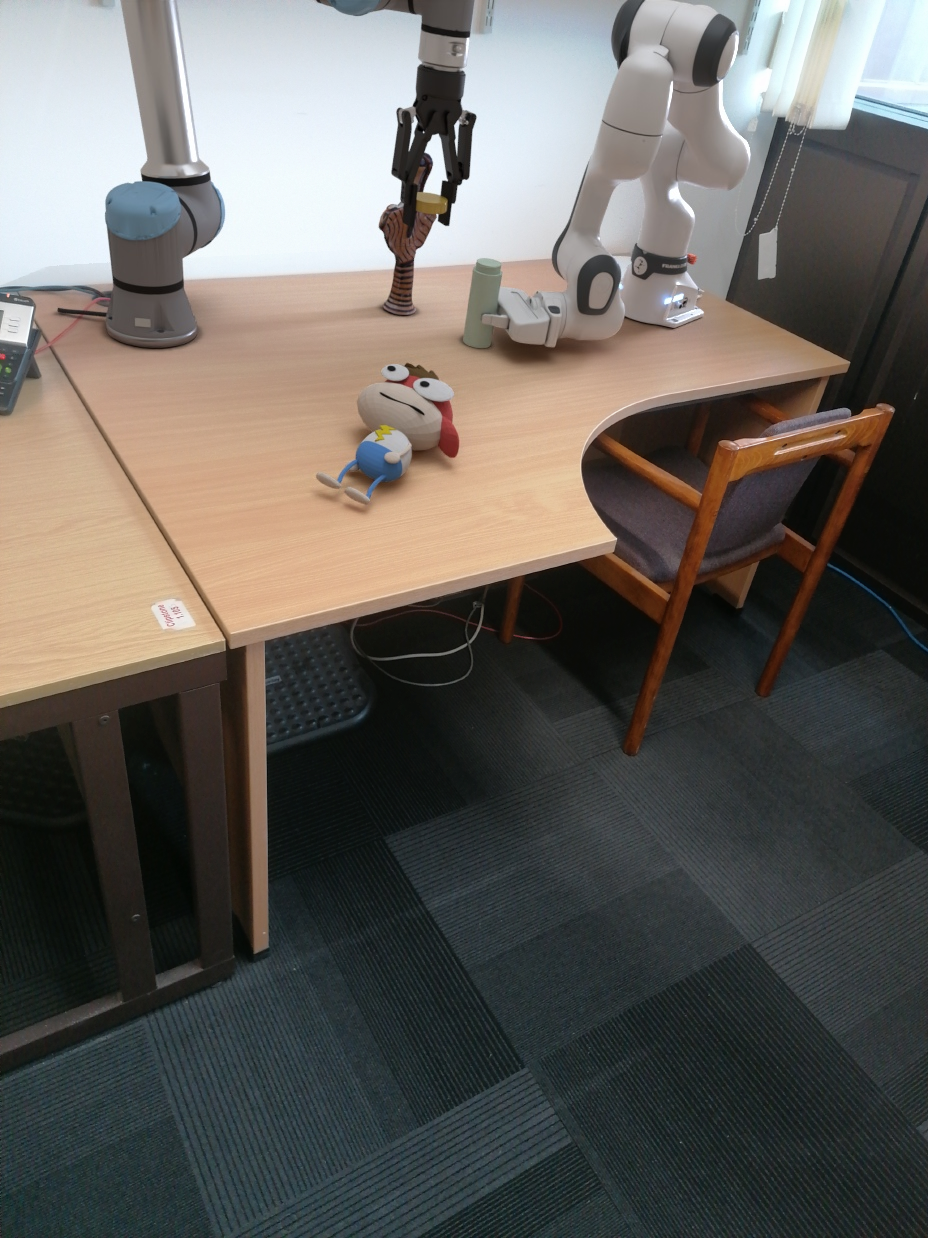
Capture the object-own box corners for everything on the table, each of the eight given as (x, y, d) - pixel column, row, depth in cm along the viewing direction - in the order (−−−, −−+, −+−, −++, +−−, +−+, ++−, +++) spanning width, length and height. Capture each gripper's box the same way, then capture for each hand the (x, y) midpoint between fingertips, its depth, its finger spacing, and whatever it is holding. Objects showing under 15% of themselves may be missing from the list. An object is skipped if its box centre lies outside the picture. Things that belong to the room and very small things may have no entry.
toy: (278, 428, 121) (396, 343, 140) (277, 485, 128) (389, 398, 148) (391, 486, 117) (497, 391, 136) (384, 542, 124) (485, 444, 143)
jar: (457, 337, 176) (469, 257, 167) (481, 335, 179) (494, 256, 169) (471, 349, 173) (483, 267, 163) (495, 347, 175) (509, 266, 166)
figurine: (408, 296, 190) (424, 141, 171) (437, 307, 187) (456, 151, 168) (363, 310, 180) (375, 147, 161) (392, 322, 177) (407, 158, 158)
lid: (454, 212, 149) (455, 201, 148) (426, 215, 145) (427, 204, 144) (429, 201, 152) (430, 190, 151) (401, 204, 149) (402, 193, 147)
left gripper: (398, 67, 129) (386, 232, 144) (506, 74, 139) (484, 229, 153) (375, 57, 134) (365, 218, 148) (481, 64, 143) (462, 215, 157)
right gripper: (531, 280, 181) (466, 275, 177) (563, 318, 166) (493, 315, 162) (525, 310, 185) (462, 307, 181) (556, 351, 170) (488, 348, 166)
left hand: (425, 223), depth 150 cm, fingers closed on lid, 6 cm apart
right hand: (477, 311), depth 172 cm, fingers closed on jar, 5 cm apart
